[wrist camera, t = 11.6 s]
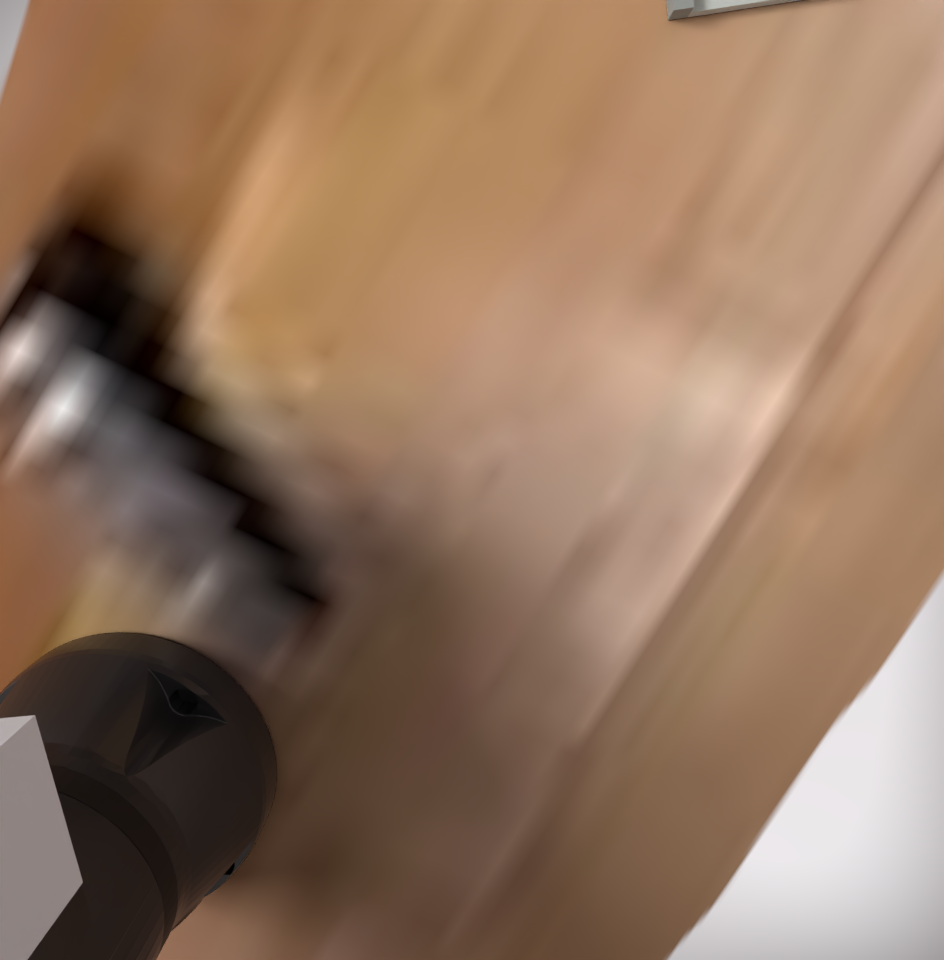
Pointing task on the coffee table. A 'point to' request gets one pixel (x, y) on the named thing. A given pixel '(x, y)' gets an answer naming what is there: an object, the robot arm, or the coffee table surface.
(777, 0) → the mat
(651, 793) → the coffee table surface
